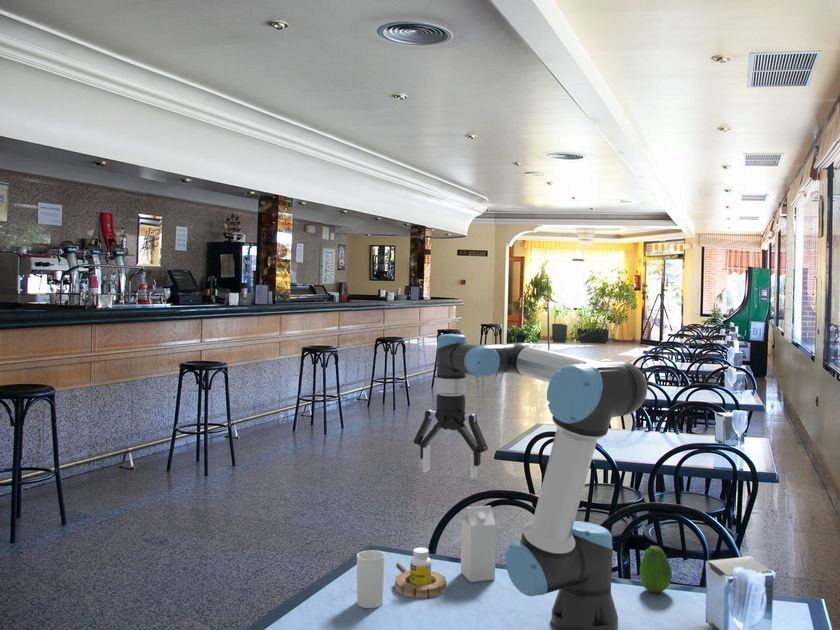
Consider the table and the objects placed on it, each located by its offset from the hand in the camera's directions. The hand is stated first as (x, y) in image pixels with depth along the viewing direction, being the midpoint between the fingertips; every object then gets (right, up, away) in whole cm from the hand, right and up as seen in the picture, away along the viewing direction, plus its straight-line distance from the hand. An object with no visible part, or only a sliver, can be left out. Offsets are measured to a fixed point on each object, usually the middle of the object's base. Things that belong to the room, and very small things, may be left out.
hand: (449, 474), depth 200 cm
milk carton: (+8, -29, +6) cm, 30 cm away
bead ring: (-8, -29, -2) cm, 30 cm away
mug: (-20, -29, -10) cm, 37 cm away
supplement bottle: (-8, -29, -2) cm, 30 cm away
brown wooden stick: (-12, -28, +9) cm, 32 cm away
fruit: (+53, -30, -3) cm, 61 cm away
